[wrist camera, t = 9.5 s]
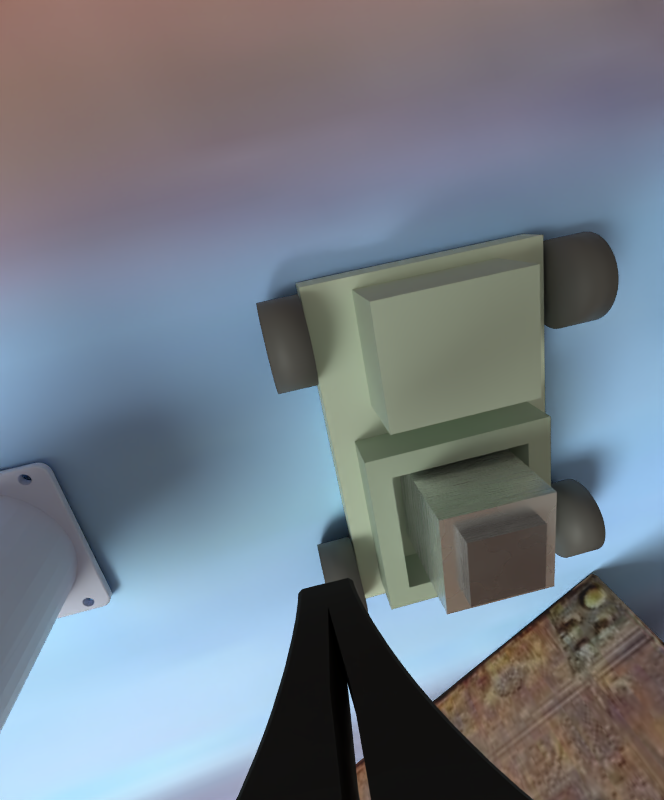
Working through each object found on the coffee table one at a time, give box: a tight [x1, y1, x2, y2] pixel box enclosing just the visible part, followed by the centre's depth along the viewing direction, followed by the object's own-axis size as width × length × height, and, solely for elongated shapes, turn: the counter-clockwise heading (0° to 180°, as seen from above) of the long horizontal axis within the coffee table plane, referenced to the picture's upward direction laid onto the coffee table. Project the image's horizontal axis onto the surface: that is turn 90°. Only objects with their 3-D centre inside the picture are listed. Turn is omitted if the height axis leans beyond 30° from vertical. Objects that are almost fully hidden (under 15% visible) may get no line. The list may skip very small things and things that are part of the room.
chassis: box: [256, 232, 618, 612], centre depth 20 cm, size 13×16×4 cm
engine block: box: [400, 449, 557, 614], centre depth 19 cm, size 4×4×6 cm
